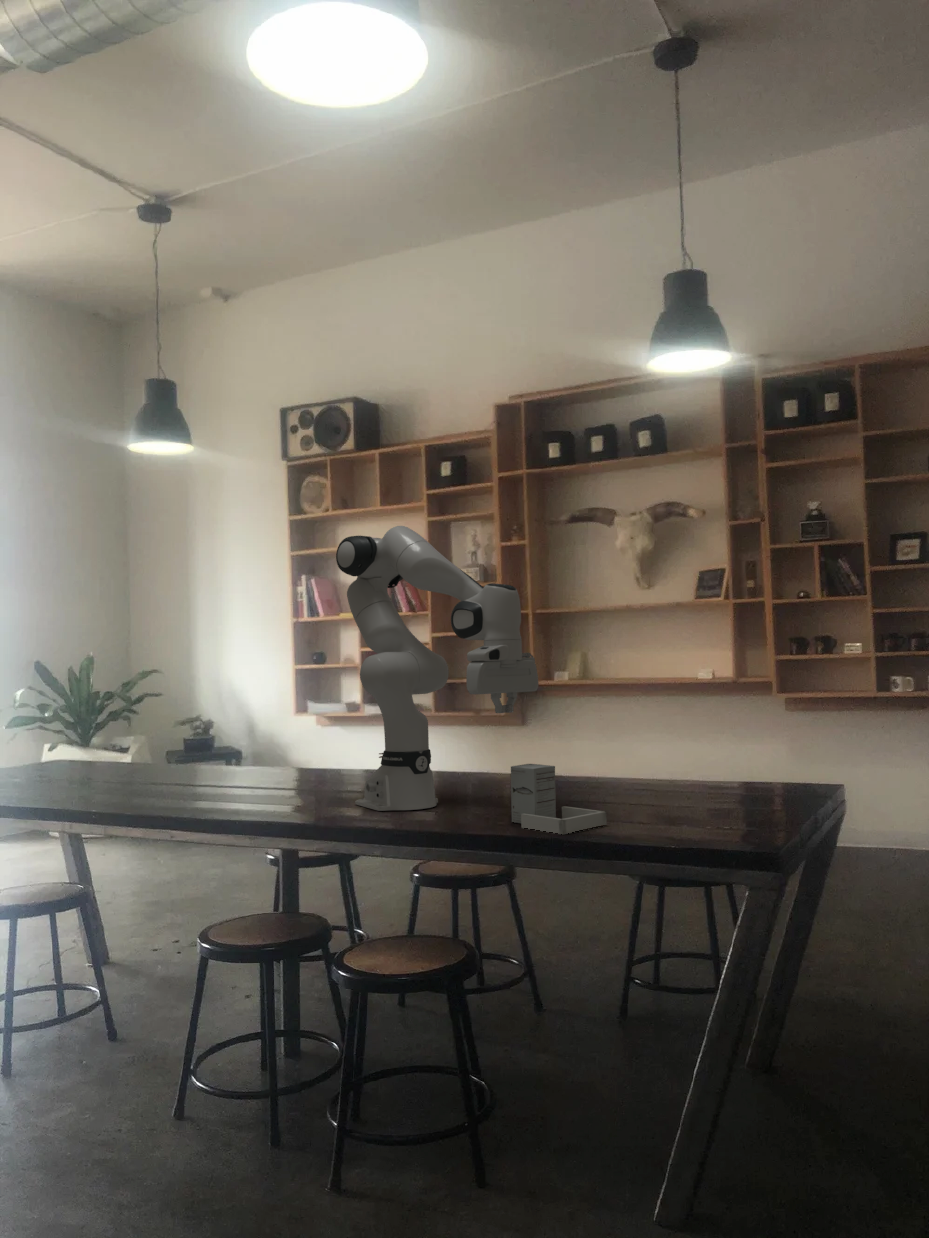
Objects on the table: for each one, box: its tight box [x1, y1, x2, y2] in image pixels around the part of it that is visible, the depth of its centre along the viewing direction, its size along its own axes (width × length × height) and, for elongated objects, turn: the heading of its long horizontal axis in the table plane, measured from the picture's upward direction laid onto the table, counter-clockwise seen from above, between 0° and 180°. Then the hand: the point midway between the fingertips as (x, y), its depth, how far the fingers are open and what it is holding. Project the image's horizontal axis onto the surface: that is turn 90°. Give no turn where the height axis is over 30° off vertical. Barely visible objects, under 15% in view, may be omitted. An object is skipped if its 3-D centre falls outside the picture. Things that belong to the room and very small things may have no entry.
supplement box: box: [510, 763, 557, 824], centre depth 211 cm, size 7×7×13 cm
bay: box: [520, 805, 608, 836], centre depth 204 cm, size 12×14×3 cm
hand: (504, 712), depth 218 cm, fingers closed
